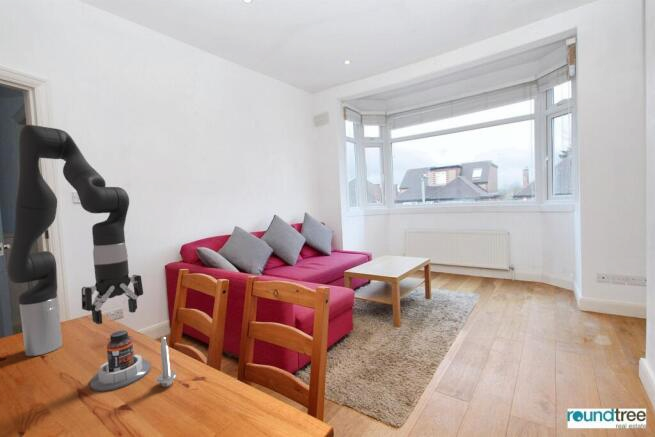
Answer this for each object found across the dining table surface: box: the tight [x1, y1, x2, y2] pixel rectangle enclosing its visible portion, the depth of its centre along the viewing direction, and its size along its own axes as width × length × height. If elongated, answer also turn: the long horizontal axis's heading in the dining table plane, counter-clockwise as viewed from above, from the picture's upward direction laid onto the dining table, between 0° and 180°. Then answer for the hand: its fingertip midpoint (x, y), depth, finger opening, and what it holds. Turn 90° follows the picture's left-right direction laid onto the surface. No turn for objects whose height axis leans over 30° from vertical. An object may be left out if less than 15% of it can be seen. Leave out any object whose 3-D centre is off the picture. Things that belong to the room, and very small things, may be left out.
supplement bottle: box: [106, 329, 134, 372], centre depth 85 cm, size 6×6×11 cm
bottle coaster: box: [89, 353, 152, 392], centre depth 85 cm, size 14×14×3 cm
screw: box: [155, 336, 178, 388], centre depth 79 cm, size 13×5×5 cm
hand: (116, 317), depth 84 cm, fingers open, 8 cm apart
